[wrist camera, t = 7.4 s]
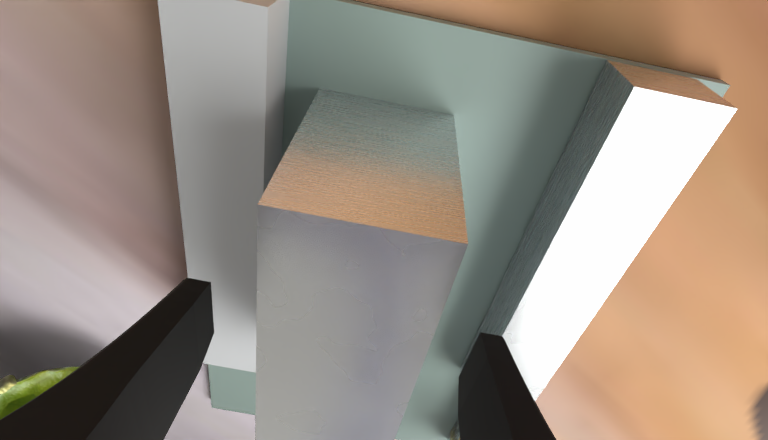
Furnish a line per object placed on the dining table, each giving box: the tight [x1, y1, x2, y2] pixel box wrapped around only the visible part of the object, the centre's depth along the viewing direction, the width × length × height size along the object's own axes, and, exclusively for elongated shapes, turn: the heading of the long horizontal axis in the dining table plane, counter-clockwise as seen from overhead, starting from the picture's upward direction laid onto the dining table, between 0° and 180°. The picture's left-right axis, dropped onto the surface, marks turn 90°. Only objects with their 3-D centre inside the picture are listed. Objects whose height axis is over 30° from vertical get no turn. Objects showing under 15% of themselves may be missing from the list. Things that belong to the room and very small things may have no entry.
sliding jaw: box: [447, 60, 737, 440], centre depth 16 cm, size 20×2×4 cm, turn 170°
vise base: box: [158, 0, 730, 440], centre depth 18 cm, size 21×15×2 cm
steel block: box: [255, 88, 468, 440], centre depth 14 cm, size 9×4×6 cm, turn 170°
